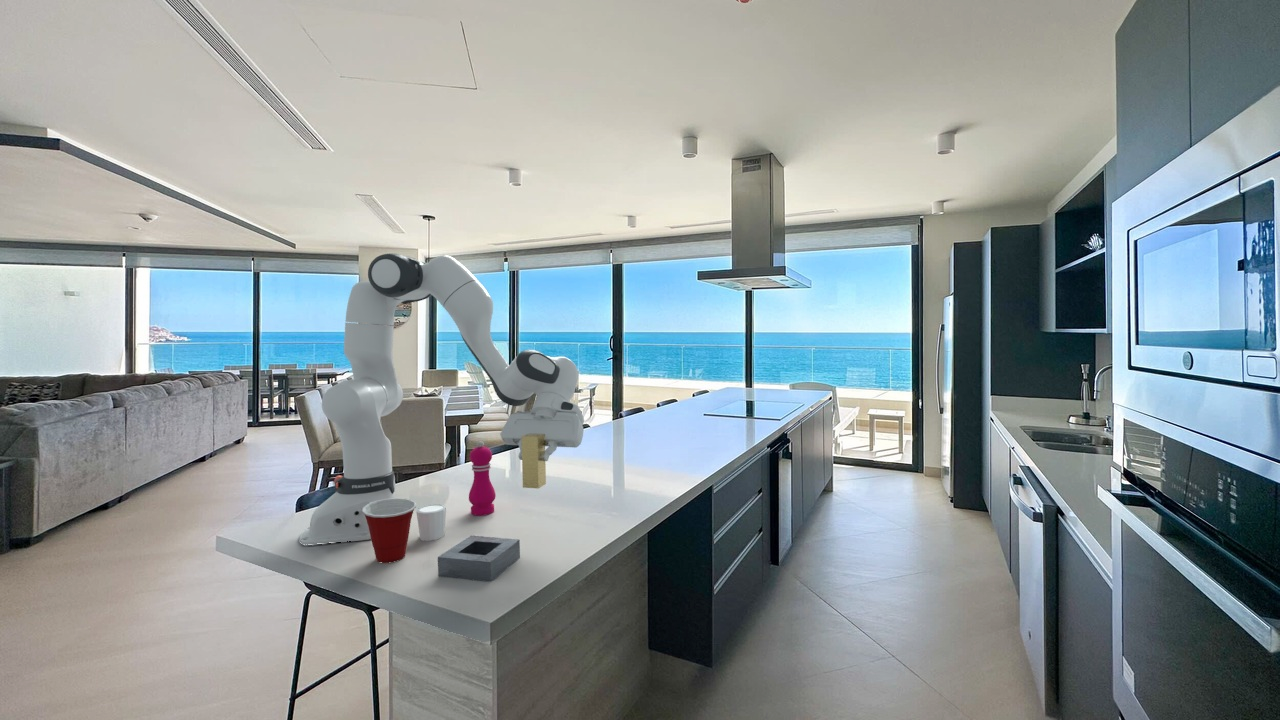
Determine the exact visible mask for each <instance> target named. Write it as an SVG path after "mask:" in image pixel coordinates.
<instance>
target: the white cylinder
mask: <svg viewBox="0 0 1280 720" xmlns="http://www.w3.org/2000/svg"><path fill="white" fill-rule="evenodd" d="M415 511H416V512H415V513H416V517H417V526H418V533H419V539H420V540H421V541H424V540H425V542H427V541H435V540H439V539H441V537H442V538H443V537H444V536H445V532H446V531H445V530H446V518H447V517H446V512H447V506H446V505H444V504H440V503H439V504H428V505H423V506H421V507H419V508H417V509H416V510H415Z"/></svg>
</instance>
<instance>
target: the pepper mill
mask: <svg viewBox="0 0 1280 720" xmlns="http://www.w3.org/2000/svg"><path fill="white" fill-rule="evenodd" d="M476 444H477V445H476V447H474V448H473V449H471V451H470V453H469V460H470V462H471V463H472V465H471V467H472V468H471V471H473V481H472V485H471V487H470V490H469V494H468V501H469V503H470V504H471V506H470V514H471V515H472V516H476V517H477V516H479V517H480V516H487V515H490V514H493V513H494V512H495V504H494V501H495V500H496V497H497V496H496V490H495V487H494V485H493V484H492V482H491V479H490V469H491V463H490V462H491V460H492V459H493V452H492V451H491V449H490V448H489V447H487V446H485V443H484V441H481V440H480V441H478V442H477V443H476Z"/></svg>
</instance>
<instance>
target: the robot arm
mask: <svg viewBox="0 0 1280 720" xmlns="http://www.w3.org/2000/svg"><path fill="white" fill-rule="evenodd" d="M367 277H368V278H367V280H362V281H358V282H357V283H355V284H354V285H353V286H352V287H351V290H350V293H349V297H348V302H347V306H346V310H345V311H346V313H345V320H344V321H345V323H344V324H345V325H344V340H343V341H344V342H343V343H344V344H343V352H344V353H343V354H344V356H345V357H346V359H347V360H348V361H349V364H350V366H351V369H352V377H353V378H352V379H346V380H343V381H341V382H339V383H336V384H335V385H332V386H331V387H329V388H328V389H327V390H326V391H325V393H324V394H323V396H322V398H321V408H322V412H323V414H324V416H325V417H326V418H327V420H329V421H330V422H332V423H333V425H334V427H335V429H336V431H337V434H338V437H339V440H340V444H341V450H342V462H343V463H342V464H343V475H336V476H335V478H334V480H333V481H334V490H335V491H334V492H335V493H333V494H332V495H331V496H330V497H328V498H327V499H326V500H324V501H323V502H322V503H321V504H320V505H319V506H317V508H316V509H314V511H313V513H312V515H311V518H310V522H309V526H308V527H306V528H305V529H304V530H302V532H301V533H300V535H299V541H300V542H301V543H302V544H305V545H306V544H307V545H308V544H317V543H329V542H341V543H349V541H351V542H357V541H358V542H359V541H369V540H371V536H370V531H369V527H368V524H367V519H366V517H365V515H364V513H363V512H362V510H363V507H365V506H366V505H367V504H370V503H372V502H375V501H379V500H384V499H393V498H395V492H396V491H395V490H396V477H395V471H394V470H393V461H392V459H393V458H392V443H391V440H390V439H389V438H388V437H387V436H386V434H385V432H384V429H383V426H382V423H381V418H382V417H386V416H388V415H390V414H391V413H392V412H394V411H395V410H397V408H399V406H401V404H402V401H403V399H404V392H403V388H402V386H401V385H400V383H399V382H398V379H397V375H396V371H395V370H396V369H395V364H394V356H393V348H394V328H395V327H394V325H395V313H396V312H395V311H396V309H397V307H398V306H399V304H402V305H407V304H411V303H415V302H420V301H424V300H426V299H429V298H430V297H431V296H432V297H433V298H435V299H436V301H438V302H439V304H440V306H442V307H443V308H444V310H445V311H446V312H447V313H448V315H449V316H450V317H451V319H452V321H453V322H454V324H455V325H456V326H457V330H458V331H459V332H460V335H461V338H462V340H463V342H464V343H465V345H466V347H467V348H468V349H469V351H470V353H471V355H472V356H473V357H474V359H475V360H476V361H477V363H478V364H479V365H480V366H481V367H480V368H482V370H483V371H484V372H485V374H486V376H487V377H488V378H489V380H490V381H491V385H492V388H493V390H494V391H495V394H496V396H497V397H498V399H500V401H502V402H503V403H504V404H506V405H509V406H513V407H520V406H523V405H525V404H527V403H528V402H529V401H530V399H531V398H532V397H533V396H534V394H535V396H536V397H535V400H534V401H533V402H534V403H533V404H532V408H531V410H530V411H528V410H525V411H522V410H516V412H513V413H512V414H510V415H509V416H508V418H507V420H506V422H505V424H504V425H503V427H502V429H501V432H500V435H499V436H500V438H501V440H502V442H503V443H504V444H505V445H507V446H509V445H510V446H518V447H519V452H518V459H519V460H520V461H522V436H524V435H527V434H529V433H532V434H545V437H544V440H545V447H547V448H545V451H541V455H540V459H541V461H545V462H549V458H550V456H552V454H554V453H555V452H556V451H557V448H574V449H575V448H578V447H579V446H580V445H582V442H583V437H584V426H583V425H584V423H585V419H584V415H583V412H582V410H581V409H580V407H579V405H578V404H577V403H575V402H571V400H572V398H573V397H574V395H575V391H576V387H577V383H578V379H579V371H578V367H577V365H576V364H575V362H574V361H572V360H571V359H569V357H566V356H549V355H545V354H544V353H542V352H540V351H538V350H535V349H524V350H522V351H520V352H519V353H518V355H516V357H514V359H513V360H512V361H511V362H510V364H509V363H508V362H507V360H506V359H505V357H504V356H503V355H502V353H501V352H500V350H499V349H498V347H497V345H496V344H495V343H494V341H493V339H492V335H491V334H492V332H491V325H492V324H491V323H492V316H493V314H494V313H493V312H494V302H493V299H492V297H491V295H490V294H489V292H488V289H486V288H485V287H484V285H483V284H482V283H481V281H479V279H478V278H477V277H476V276H475V275H474V274H473V273H472V272H471V271H470V270H469V269H468V268H467V267H466V266H464V264H462V263H461V262H460V261H458V260H457V259H456V258H454V257H453V256H450V255H447V254H446V255H445V254H443V255H439V256H436V257H434V258H432V259H431V260H430V261H428V262H427V263H426V262H423V261H421V260H419V259H416V258H414V257H411V256H405V255H403V254H399V253H383V254H380V255H379V256H376V257H375V258H374V259H373V260H372V261H371V262H370V264H369V265H368V269H367ZM347 541H348V542H347ZM300 542H299V543H300Z"/></svg>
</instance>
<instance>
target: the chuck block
mask: <svg viewBox="0 0 1280 720" xmlns="http://www.w3.org/2000/svg"><path fill="white" fill-rule="evenodd" d="M520 544H521V542H520V539H517V538H505V537H496V536H495V537H491V536H481V535H469V536H468V537H467V538H465V539H463V540H462V541H460V542H459V543H457V544H456V545H454V546H453V547H451V548H450V549H448V550H447V551H444V552H442V554H440V555H438V556H437V576H438V578H439V577H441V578H449V579H456V580H457V579H459V580H469V581H477V582H487V583H492V582H493V581H495V580H496V579H497V578H498V577H499V576H500V575H501V574H502V573H504V572H505V571H506V570H507V569H508V568H509V567H510V566H512V565H513V564H514V563H515V562H517V561H518V560H519V559H520V558H521V548H520V547H521V545H520Z"/></svg>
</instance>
